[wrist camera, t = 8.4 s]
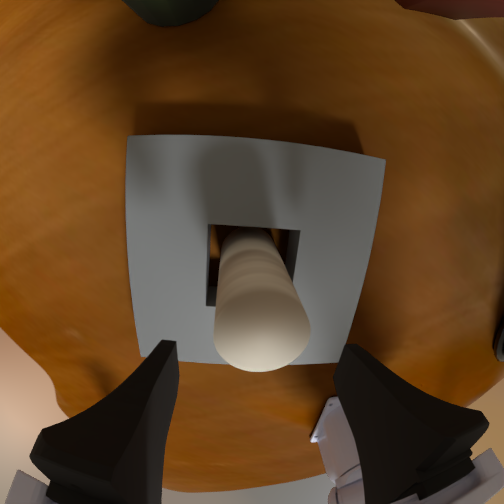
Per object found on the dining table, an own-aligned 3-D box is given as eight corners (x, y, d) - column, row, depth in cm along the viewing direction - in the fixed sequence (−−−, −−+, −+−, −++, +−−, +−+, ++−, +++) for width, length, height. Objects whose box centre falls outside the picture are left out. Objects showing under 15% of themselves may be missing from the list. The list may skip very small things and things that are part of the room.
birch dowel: (273, 278, 21) (301, 370, 12) (220, 276, 21) (213, 370, 11) (278, 227, 20) (318, 295, 10) (222, 224, 19) (213, 293, 10)
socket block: (329, 341, 24) (339, 362, 21) (149, 334, 22) (141, 356, 19) (365, 158, 18) (385, 159, 16) (142, 138, 17) (127, 136, 14)
